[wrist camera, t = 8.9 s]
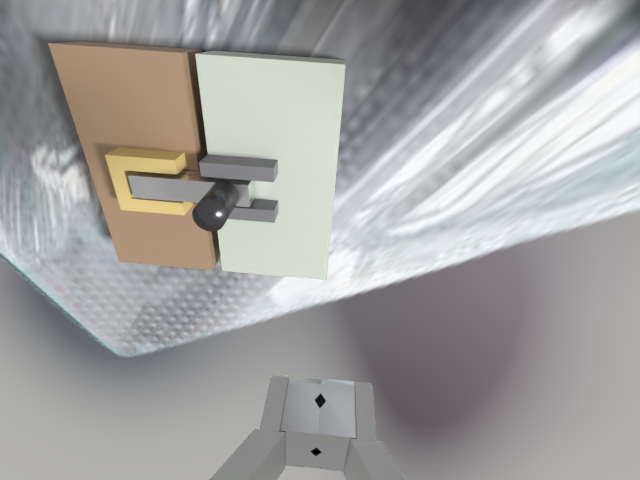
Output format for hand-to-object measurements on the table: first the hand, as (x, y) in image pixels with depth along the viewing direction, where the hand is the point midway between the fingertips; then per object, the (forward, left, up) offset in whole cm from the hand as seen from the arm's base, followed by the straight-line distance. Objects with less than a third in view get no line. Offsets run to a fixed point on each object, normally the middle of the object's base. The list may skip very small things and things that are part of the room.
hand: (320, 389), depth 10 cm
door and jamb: (+12, +3, -25) cm, 28 cm away
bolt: (+12, +3, -21) cm, 24 cm away
